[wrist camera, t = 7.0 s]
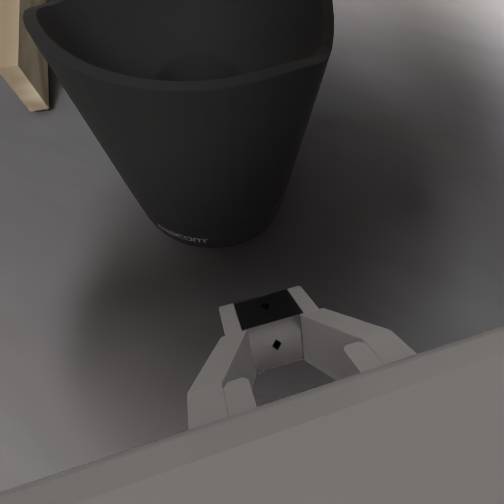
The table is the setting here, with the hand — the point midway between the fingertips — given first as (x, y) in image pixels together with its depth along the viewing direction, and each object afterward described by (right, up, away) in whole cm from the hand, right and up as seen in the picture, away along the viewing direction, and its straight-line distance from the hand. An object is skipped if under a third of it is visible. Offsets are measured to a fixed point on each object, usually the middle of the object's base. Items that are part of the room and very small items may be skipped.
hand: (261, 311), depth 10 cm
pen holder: (-3, +6, +8) cm, 10 cm away
